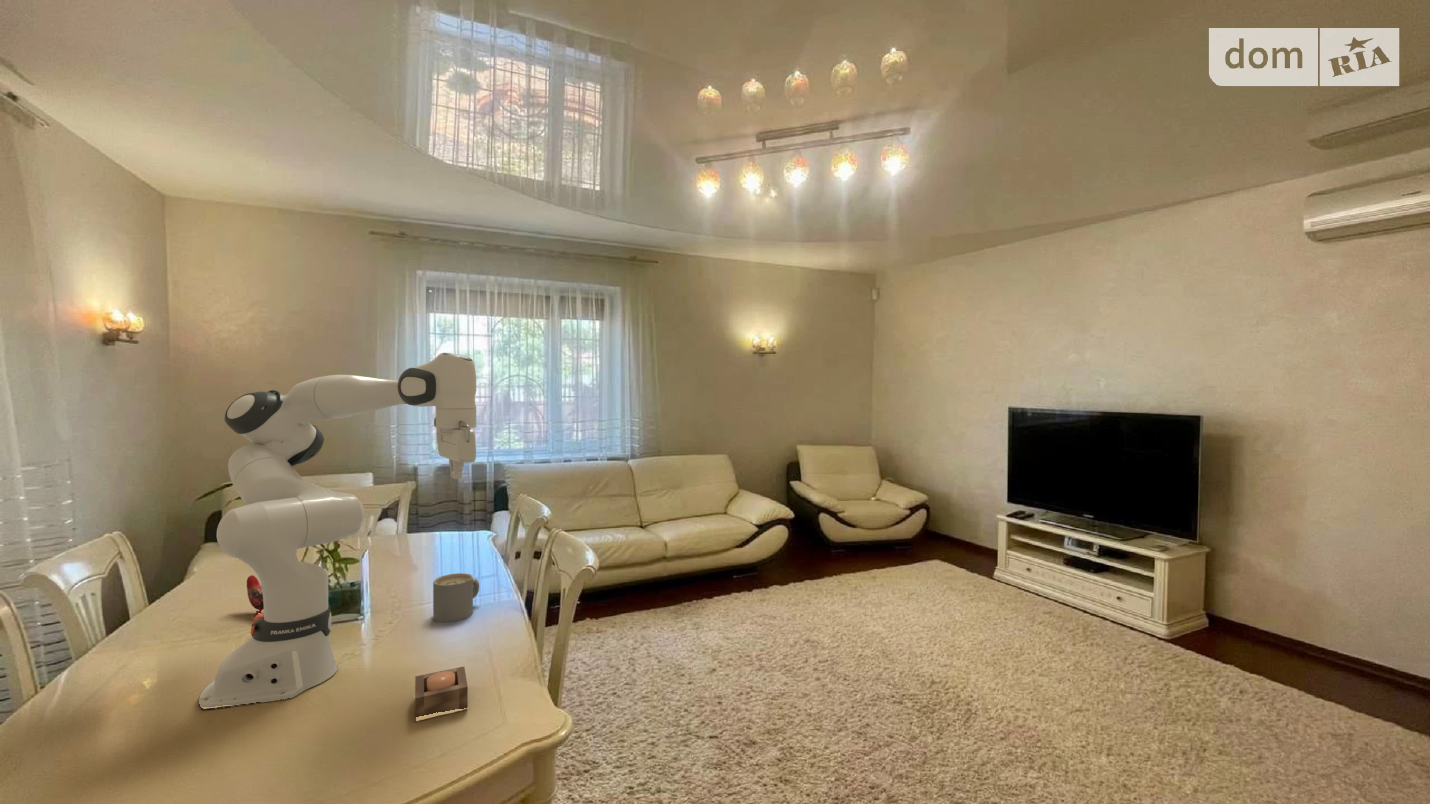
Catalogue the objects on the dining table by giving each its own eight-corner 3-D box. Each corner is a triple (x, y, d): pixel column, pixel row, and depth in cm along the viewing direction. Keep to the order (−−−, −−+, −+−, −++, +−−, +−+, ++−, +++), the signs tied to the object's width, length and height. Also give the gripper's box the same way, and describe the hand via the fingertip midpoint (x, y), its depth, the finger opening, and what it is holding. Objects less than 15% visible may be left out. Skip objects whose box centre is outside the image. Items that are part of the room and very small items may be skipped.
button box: (415, 722, 103) (415, 698, 103) (415, 698, 111) (415, 676, 111) (467, 709, 107) (467, 686, 107) (464, 687, 115) (464, 666, 115)
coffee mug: (445, 625, 146) (445, 587, 146) (426, 616, 152) (426, 580, 152) (491, 609, 157) (491, 574, 157) (471, 601, 163) (471, 567, 163)
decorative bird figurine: (254, 607, 157) (254, 572, 157) (282, 621, 148) (282, 584, 148) (241, 610, 154) (241, 575, 154) (269, 624, 145) (269, 587, 145)
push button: (427, 707, 106) (427, 686, 106) (426, 694, 110) (426, 674, 110) (455, 700, 108) (455, 680, 108) (454, 688, 113) (454, 668, 112)
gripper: (483, 422, 126) (483, 482, 126) (459, 418, 142) (458, 472, 142) (453, 423, 122) (453, 485, 122) (432, 419, 138) (432, 474, 138)
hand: (456, 478), depth 132 cm, fingers closed
